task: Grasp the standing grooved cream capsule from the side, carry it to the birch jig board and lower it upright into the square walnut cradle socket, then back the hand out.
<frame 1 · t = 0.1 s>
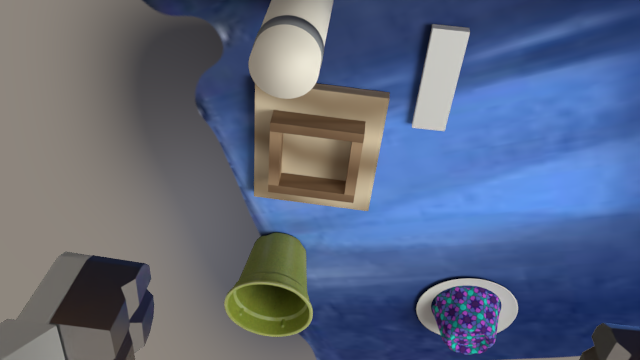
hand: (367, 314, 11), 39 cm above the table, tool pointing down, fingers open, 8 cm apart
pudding: (465, 304, 72), on the table
plant pot: (281, 248, 69), on the table
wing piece: (438, 75, 52), on the table
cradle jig: (317, 145, 58), on the table
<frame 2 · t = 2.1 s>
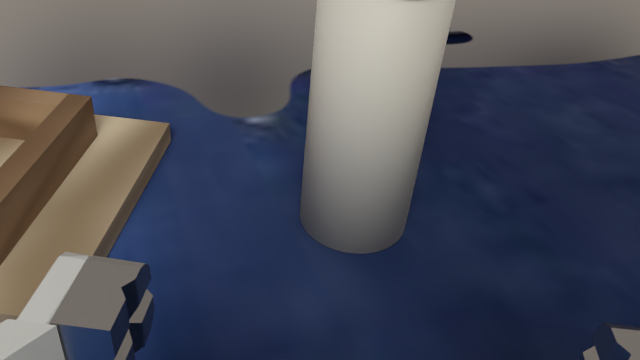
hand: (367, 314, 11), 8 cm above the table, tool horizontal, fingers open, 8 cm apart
grooved cream capsule: (352, 216, 25), on the table
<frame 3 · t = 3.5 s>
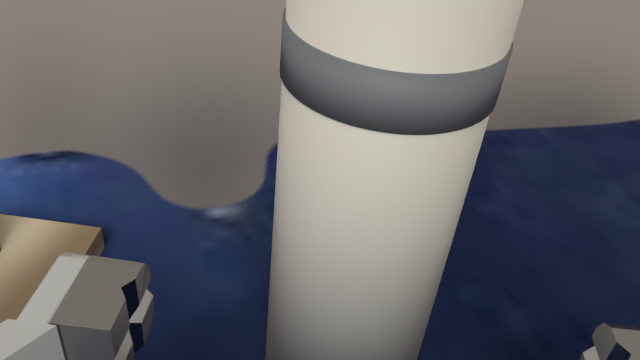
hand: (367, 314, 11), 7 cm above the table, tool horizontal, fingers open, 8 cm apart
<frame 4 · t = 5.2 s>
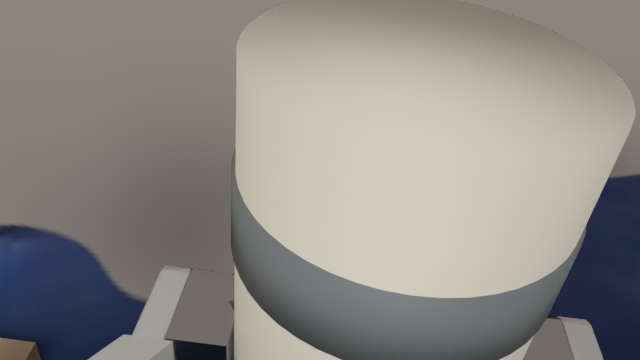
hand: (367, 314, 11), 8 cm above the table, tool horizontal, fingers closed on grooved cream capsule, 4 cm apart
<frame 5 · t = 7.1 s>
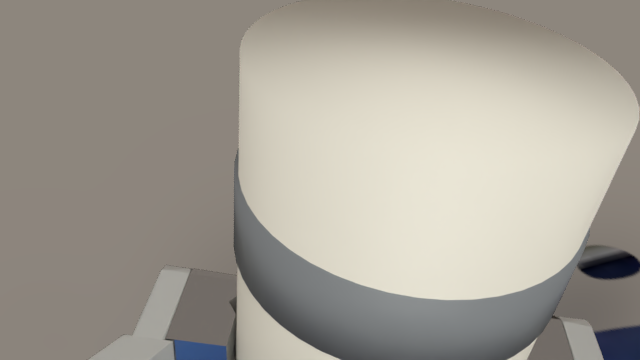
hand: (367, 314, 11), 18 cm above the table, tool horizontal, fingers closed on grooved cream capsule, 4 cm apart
when the fingers open (10 cm above the table, at t = 9.3 s): grooved cream capsule stays where it is, resting on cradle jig.
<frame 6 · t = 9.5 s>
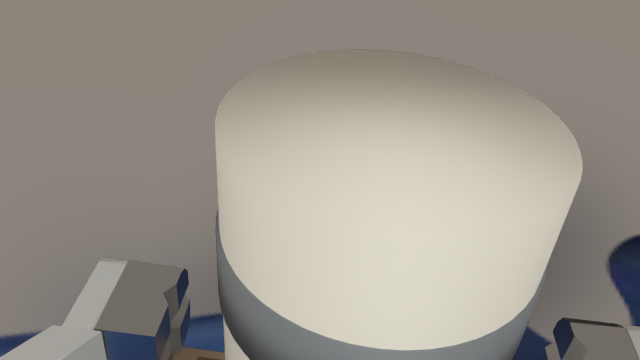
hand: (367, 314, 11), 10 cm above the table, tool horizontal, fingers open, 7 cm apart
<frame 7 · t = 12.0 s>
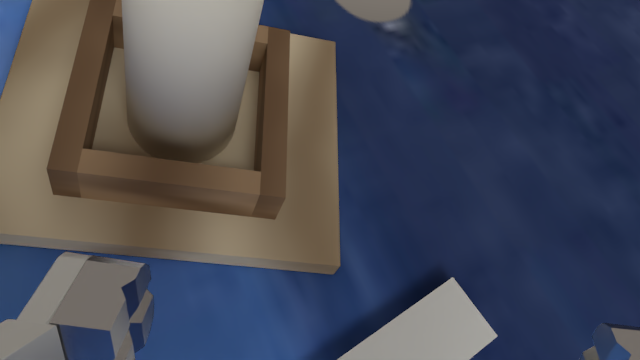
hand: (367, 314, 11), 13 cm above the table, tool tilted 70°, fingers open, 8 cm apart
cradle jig: (179, 131, 26), on the table
grooved cream capsule: (182, 118, 25), point 1 cm above the table, touching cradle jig
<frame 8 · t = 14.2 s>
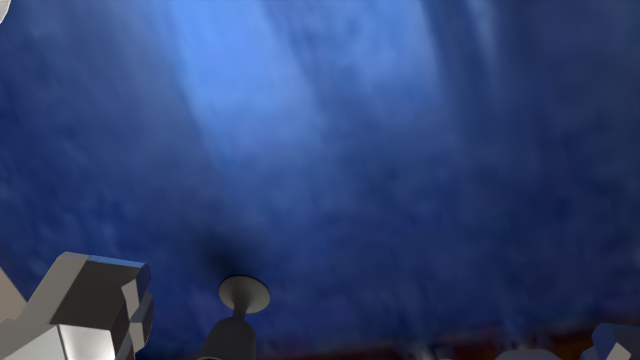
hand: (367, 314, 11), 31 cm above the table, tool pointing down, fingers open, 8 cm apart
sundae: (244, 292, 56), on the table
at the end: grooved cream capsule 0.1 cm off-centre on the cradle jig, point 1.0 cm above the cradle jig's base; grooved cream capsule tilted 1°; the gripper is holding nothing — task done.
